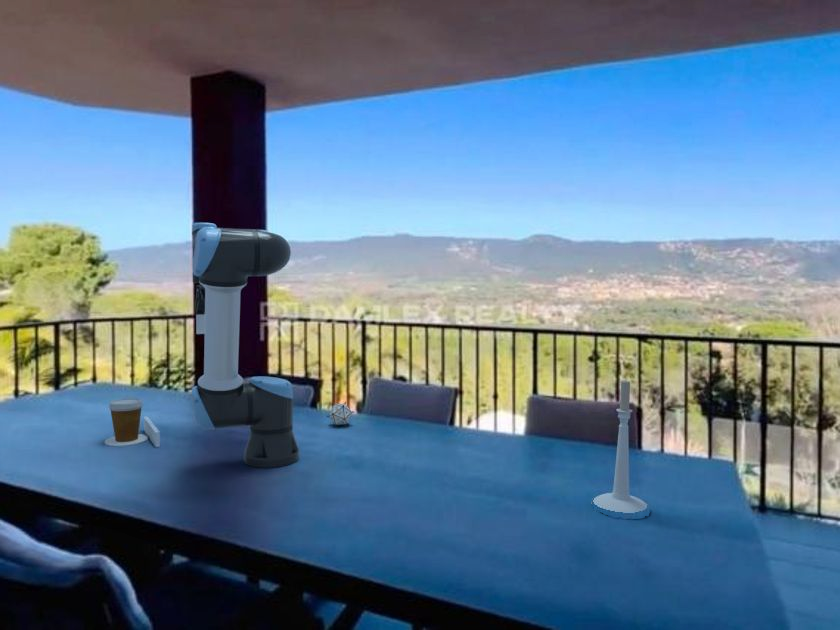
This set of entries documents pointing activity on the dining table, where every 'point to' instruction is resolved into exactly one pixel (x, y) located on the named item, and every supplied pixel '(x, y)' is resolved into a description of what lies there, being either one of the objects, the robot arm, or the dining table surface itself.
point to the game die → (340, 414)
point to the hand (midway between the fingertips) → (205, 335)
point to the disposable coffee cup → (126, 418)
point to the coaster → (113, 442)
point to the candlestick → (621, 465)
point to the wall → (152, 432)
